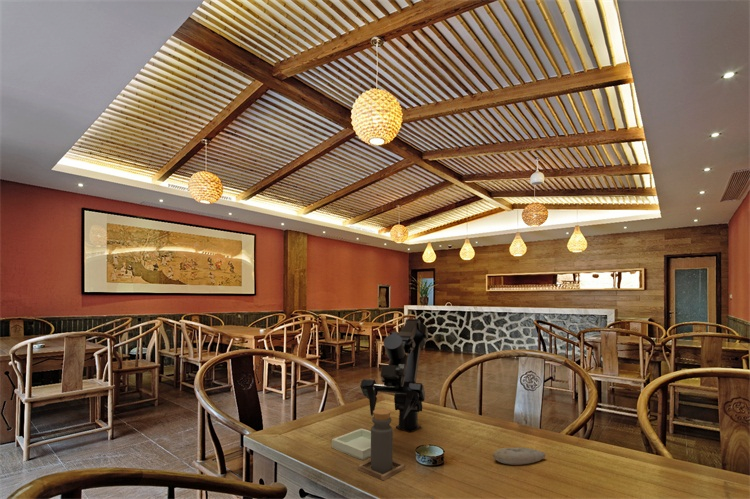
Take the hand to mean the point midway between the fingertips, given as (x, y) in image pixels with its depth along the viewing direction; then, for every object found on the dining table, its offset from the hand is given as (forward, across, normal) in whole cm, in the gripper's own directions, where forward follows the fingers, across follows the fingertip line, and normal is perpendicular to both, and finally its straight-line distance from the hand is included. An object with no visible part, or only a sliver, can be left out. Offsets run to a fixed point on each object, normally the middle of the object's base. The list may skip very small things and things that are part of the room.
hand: (387, 416), depth 114 cm
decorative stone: (+1, +35, +17) cm, 39 cm away
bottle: (+12, 0, +5) cm, 13 cm away
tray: (+4, -10, +13) cm, 17 cm away
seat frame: (+12, 0, +5) cm, 13 cm away
